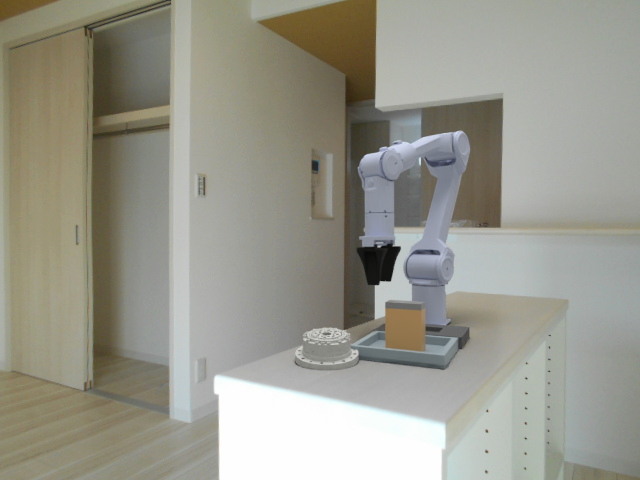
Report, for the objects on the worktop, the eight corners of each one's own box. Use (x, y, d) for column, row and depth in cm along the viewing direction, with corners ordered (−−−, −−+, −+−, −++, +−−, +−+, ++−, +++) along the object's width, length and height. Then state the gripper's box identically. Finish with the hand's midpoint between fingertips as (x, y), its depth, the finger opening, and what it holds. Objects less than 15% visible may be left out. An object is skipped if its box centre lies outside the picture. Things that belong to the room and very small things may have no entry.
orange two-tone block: (390, 346, 79) (390, 299, 79) (425, 349, 76) (425, 301, 76) (385, 350, 76) (385, 302, 76) (421, 353, 73) (421, 304, 73)
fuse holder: (389, 330, 95) (389, 320, 95) (469, 337, 88) (469, 327, 88) (373, 340, 86) (373, 329, 86) (461, 348, 79) (461, 337, 79)
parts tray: (375, 341, 85) (375, 330, 85) (458, 349, 79) (458, 337, 79) (349, 358, 73) (349, 345, 73) (444, 369, 67) (444, 355, 67)
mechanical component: (288, 371, 68) (354, 376, 66) (287, 343, 68) (354, 346, 66) (303, 347, 78) (361, 351, 76) (302, 322, 77) (361, 325, 75)
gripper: (372, 215, 97) (372, 279, 98) (346, 212, 84) (346, 285, 84) (404, 214, 94) (404, 280, 95) (383, 211, 81) (383, 287, 81)
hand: (379, 283), depth 89 cm, fingers open, 7 cm apart
